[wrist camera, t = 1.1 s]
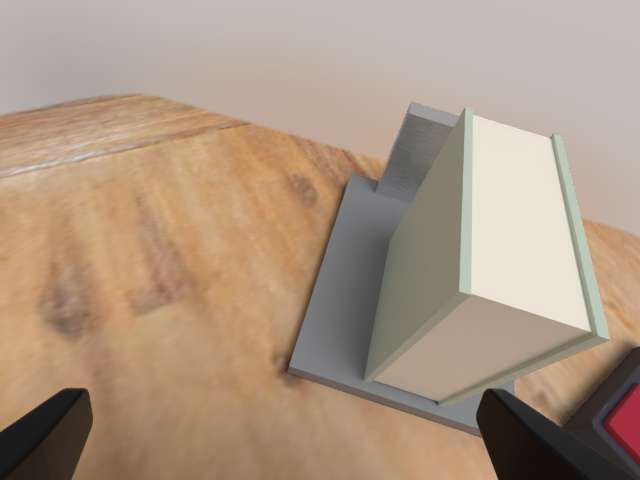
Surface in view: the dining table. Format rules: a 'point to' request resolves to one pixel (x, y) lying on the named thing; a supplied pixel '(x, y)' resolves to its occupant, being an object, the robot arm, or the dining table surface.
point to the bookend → (414, 151)
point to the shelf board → (362, 310)
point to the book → (486, 269)
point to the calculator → (613, 417)
